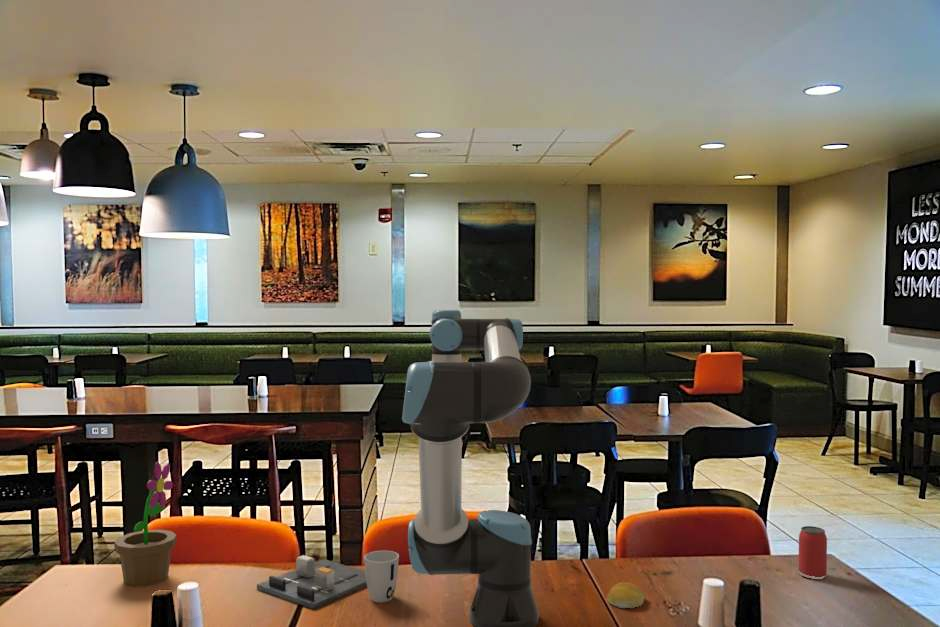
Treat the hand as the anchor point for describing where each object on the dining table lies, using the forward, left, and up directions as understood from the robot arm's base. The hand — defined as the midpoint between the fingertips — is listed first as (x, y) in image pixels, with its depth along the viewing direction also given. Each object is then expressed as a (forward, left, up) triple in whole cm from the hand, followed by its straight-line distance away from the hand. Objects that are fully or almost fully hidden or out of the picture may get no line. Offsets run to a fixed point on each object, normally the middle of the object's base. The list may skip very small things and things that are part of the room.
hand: (446, 463), depth 193 cm
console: (+22, +23, -29) cm, 43 cm away
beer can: (-75, -56, -29) cm, 98 cm away
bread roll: (-44, -12, -29) cm, 54 cm away
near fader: (+17, +26, -27) cm, 41 cm away
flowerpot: (+60, +46, -29) cm, 81 cm away
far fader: (+27, +23, -27) cm, 45 cm away
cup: (+4, +20, -29) cm, 36 cm away
